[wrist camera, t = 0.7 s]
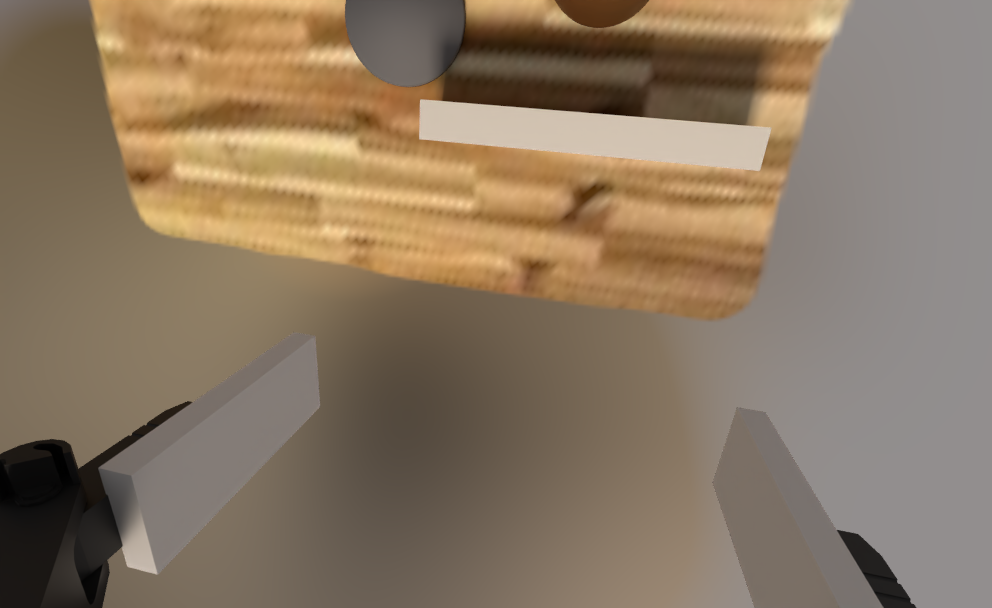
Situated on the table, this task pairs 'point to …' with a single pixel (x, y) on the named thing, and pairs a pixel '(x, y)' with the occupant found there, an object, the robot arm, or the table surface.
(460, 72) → the table surface
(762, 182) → the table surface
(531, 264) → the table surface
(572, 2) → the mug
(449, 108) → the board
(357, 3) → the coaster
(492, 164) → the table surface
